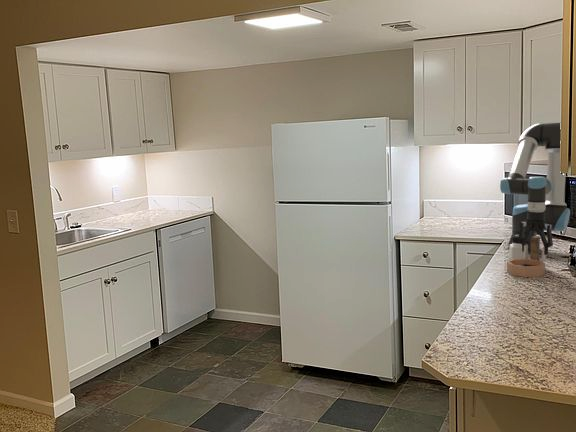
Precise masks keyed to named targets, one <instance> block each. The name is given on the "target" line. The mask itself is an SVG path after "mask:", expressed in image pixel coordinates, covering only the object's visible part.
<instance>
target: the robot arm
mask: <svg viewBox="0 0 576 432" xmlns="http://www.w3.org/2000/svg"><path fill="white" fill-rule="evenodd" d="M560 123H561V122H549V123H548V122H546V123H545V122H539V123H536V124H533V125H531V126H530V127H528V128H527V129H526V130H525V131H524V132H523V133H522V134H521V135H520V137H519V140H518V142H517V146H518V147H517V151H516V155H515V156H514V158H513V159H514V160H513V162H512V165H511V169H510V171H509V174H508V177H502V178H501V180H500V184H499V187H500V193H502V194H505V195H506V194H507V195H527V203H525V204H524V203H523V204H517V205H515V206H514V207H513V208H512V214H511V216H512V218H511V219H512V220H511V221H512V222H511V235H510V238H509V241H508V243H507V248H508V249H509V250H510V244H512V237H513V236H514V235H519V239H518V243H520V244H522V252H524V259H529V257H528V256H529V252H530V250H531V237H533V236H537V233H538V234H539V236H540V241H541V242H542V244H543V247H541V248H542V249H541V250H542V251H541V261H542V262H543V263H545V262H547V261H546V260H547V256H548V254H549V248H551V247H553V246H554V242H553V240H554V239H553V234H552V232H564V231H565V230H566V229H567V228H568V225H569V221H570V215H571V210H570V208H568V207H567V206H568V205H567V203H566V202H565V189H566V188H565V186H566V175H563V174H561V173H560ZM539 147H545V149H544V150H545V151H546V152H547V153H548V154H547V168H546V169H547V170H546V177H545V176H537V175H536V176H530V177H529V178H526V177H527V173H528V171H529V167H530V164H531V161H532V158H533V155H534V152H535V151H536V150H537V149H538V148H539ZM545 231H546V235H545ZM524 236H525V238H524V240H523V237H524Z"/></svg>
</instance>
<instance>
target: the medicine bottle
mask: <svg viewBox="0 0 576 432" xmlns="http://www.w3.org/2000/svg"><path fill="white" fill-rule="evenodd" d="M524 238H525V236H524V237H523V240H524ZM518 239H519V235H514V236H513V237H512V244H510V249H509V253H508V254H509V261H510V260H512V259H524V252H522V244H520V243H518Z"/></svg>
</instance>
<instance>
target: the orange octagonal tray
mask: <svg viewBox="0 0 576 432" xmlns="http://www.w3.org/2000/svg"><path fill="white" fill-rule="evenodd" d="M521 264H530V265H535V266H519V265H521ZM506 272H507V273H508V274H510V275H512V276H515V277H522V278H523V277H524V278H537V277H538V278H540V277H542V276H543V275H545V274H546V263H545V262H542V260H541V259H539V260H533V259H530V258H527V259H512V260H510V259H509V260H507V261H506Z"/></svg>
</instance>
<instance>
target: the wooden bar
mask: <svg viewBox="0 0 576 432" xmlns="http://www.w3.org/2000/svg"><path fill="white" fill-rule="evenodd" d="M540 243H541V237H540V235H539V236H538V235H536V236H533V237H531V250H530V251H529V252H530V254H529V255H530V256H529V257H530V258H529V259H533V260H540Z"/></svg>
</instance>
